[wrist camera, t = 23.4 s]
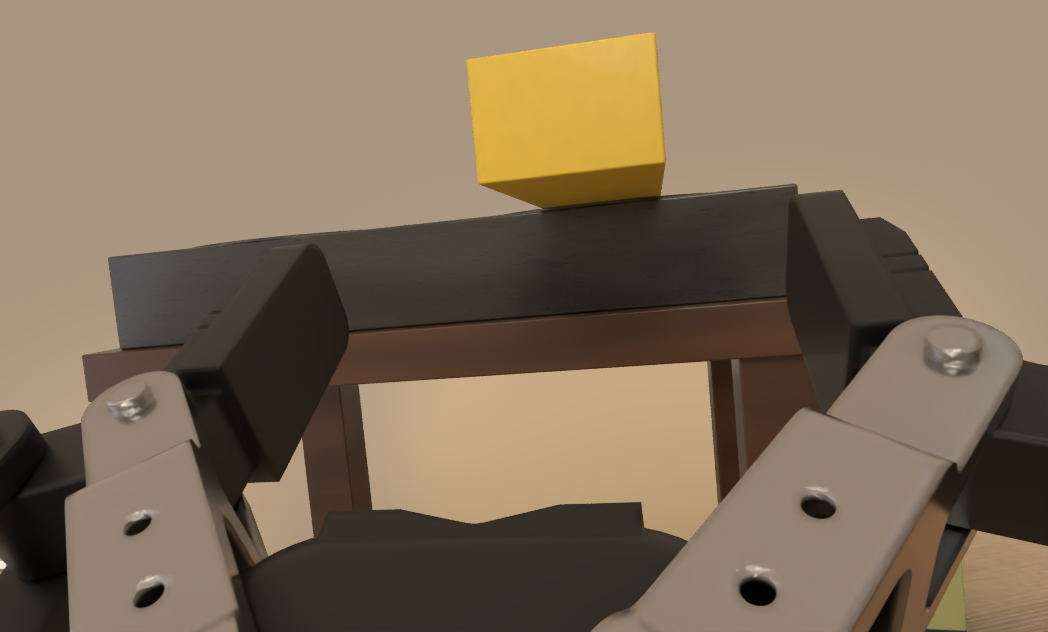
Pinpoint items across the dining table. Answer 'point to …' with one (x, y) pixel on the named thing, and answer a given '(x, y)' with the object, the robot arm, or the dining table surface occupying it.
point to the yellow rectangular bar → (570, 122)
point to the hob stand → (513, 312)
